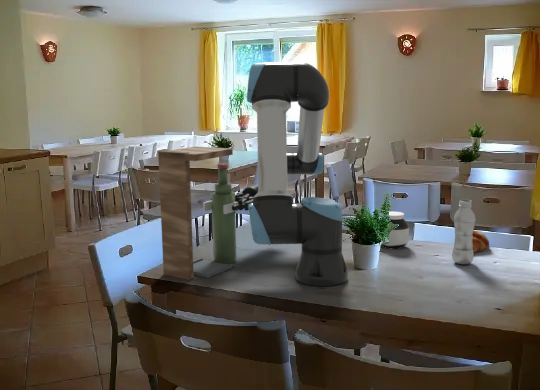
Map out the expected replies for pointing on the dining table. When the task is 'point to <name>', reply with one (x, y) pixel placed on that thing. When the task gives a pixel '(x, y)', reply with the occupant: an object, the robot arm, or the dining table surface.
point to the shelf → (179, 206)
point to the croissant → (479, 241)
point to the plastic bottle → (463, 233)
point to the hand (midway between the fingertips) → (214, 208)
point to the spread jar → (398, 231)
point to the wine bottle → (223, 220)
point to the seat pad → (208, 267)
